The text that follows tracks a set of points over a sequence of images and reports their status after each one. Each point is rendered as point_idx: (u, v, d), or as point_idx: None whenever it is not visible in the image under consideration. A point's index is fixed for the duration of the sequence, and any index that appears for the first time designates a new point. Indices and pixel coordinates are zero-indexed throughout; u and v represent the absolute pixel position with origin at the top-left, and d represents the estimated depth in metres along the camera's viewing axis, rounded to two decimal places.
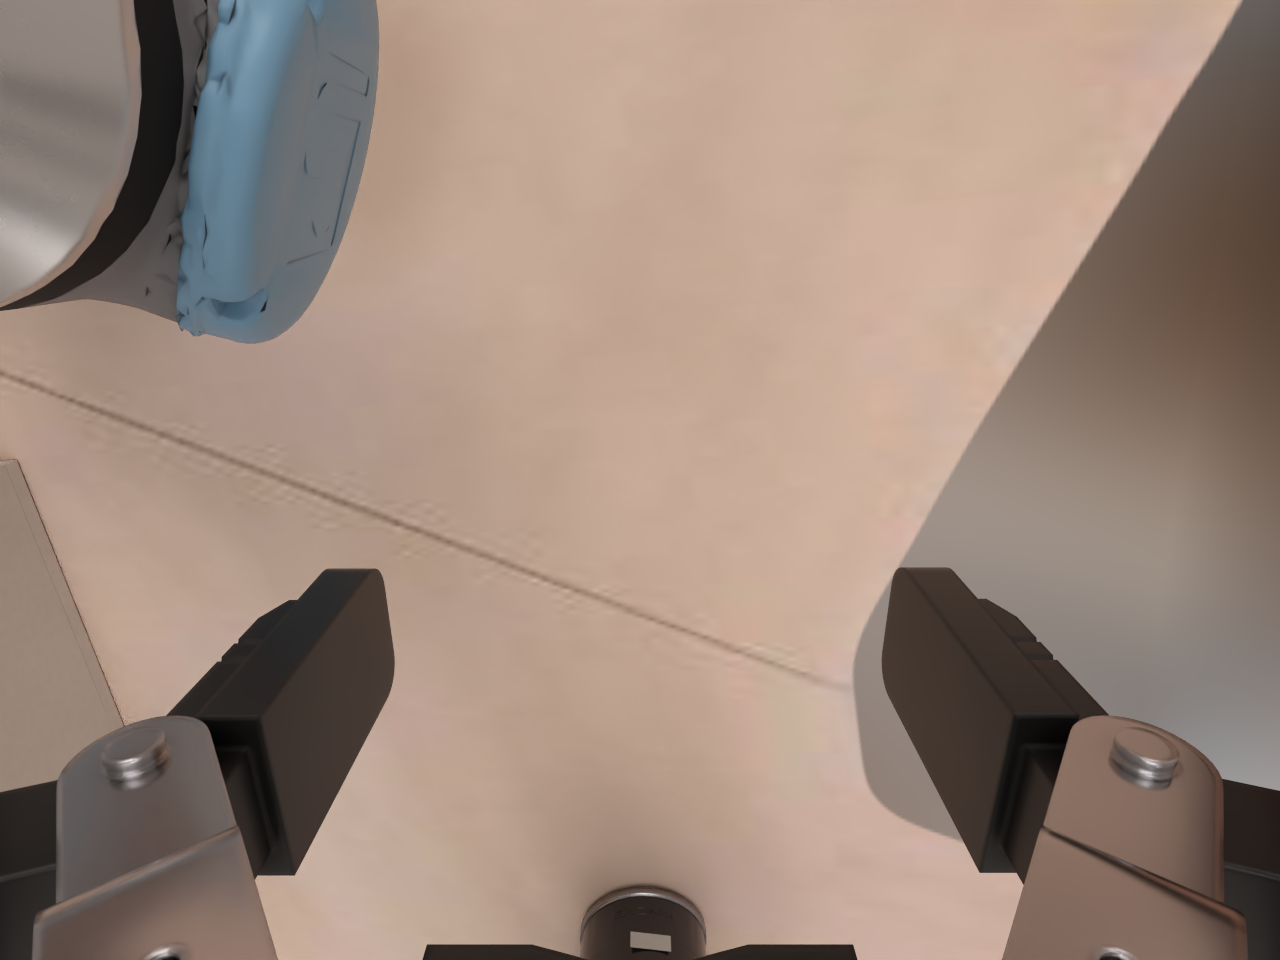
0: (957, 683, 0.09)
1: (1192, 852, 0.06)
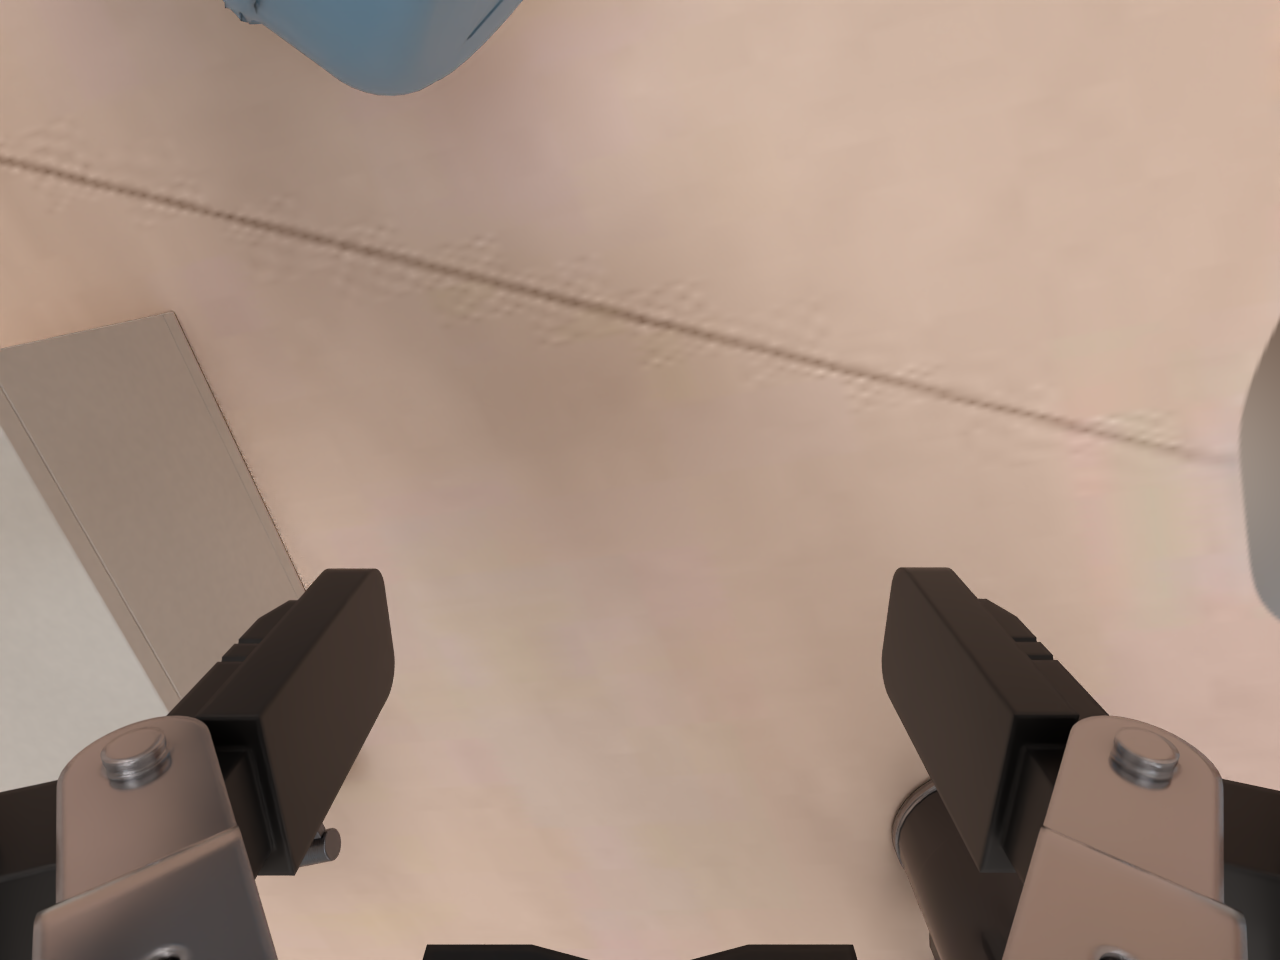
0: (957, 683, 0.09)
1: (1192, 852, 0.06)
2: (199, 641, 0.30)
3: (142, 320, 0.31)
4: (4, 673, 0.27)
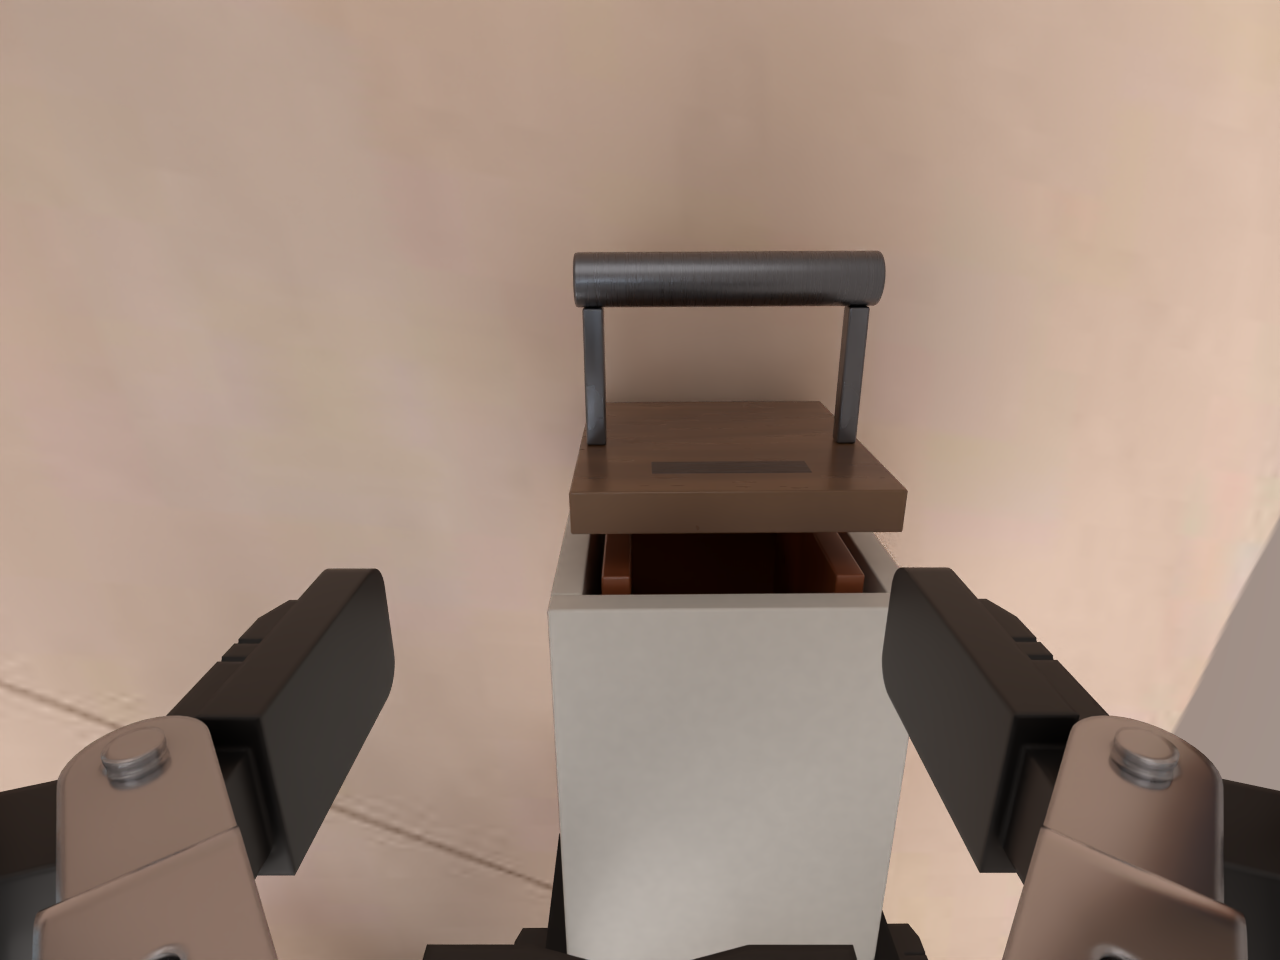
0: (957, 683, 0.09)
1: (1192, 852, 0.06)
2: None
3: None
4: (732, 841, 0.21)
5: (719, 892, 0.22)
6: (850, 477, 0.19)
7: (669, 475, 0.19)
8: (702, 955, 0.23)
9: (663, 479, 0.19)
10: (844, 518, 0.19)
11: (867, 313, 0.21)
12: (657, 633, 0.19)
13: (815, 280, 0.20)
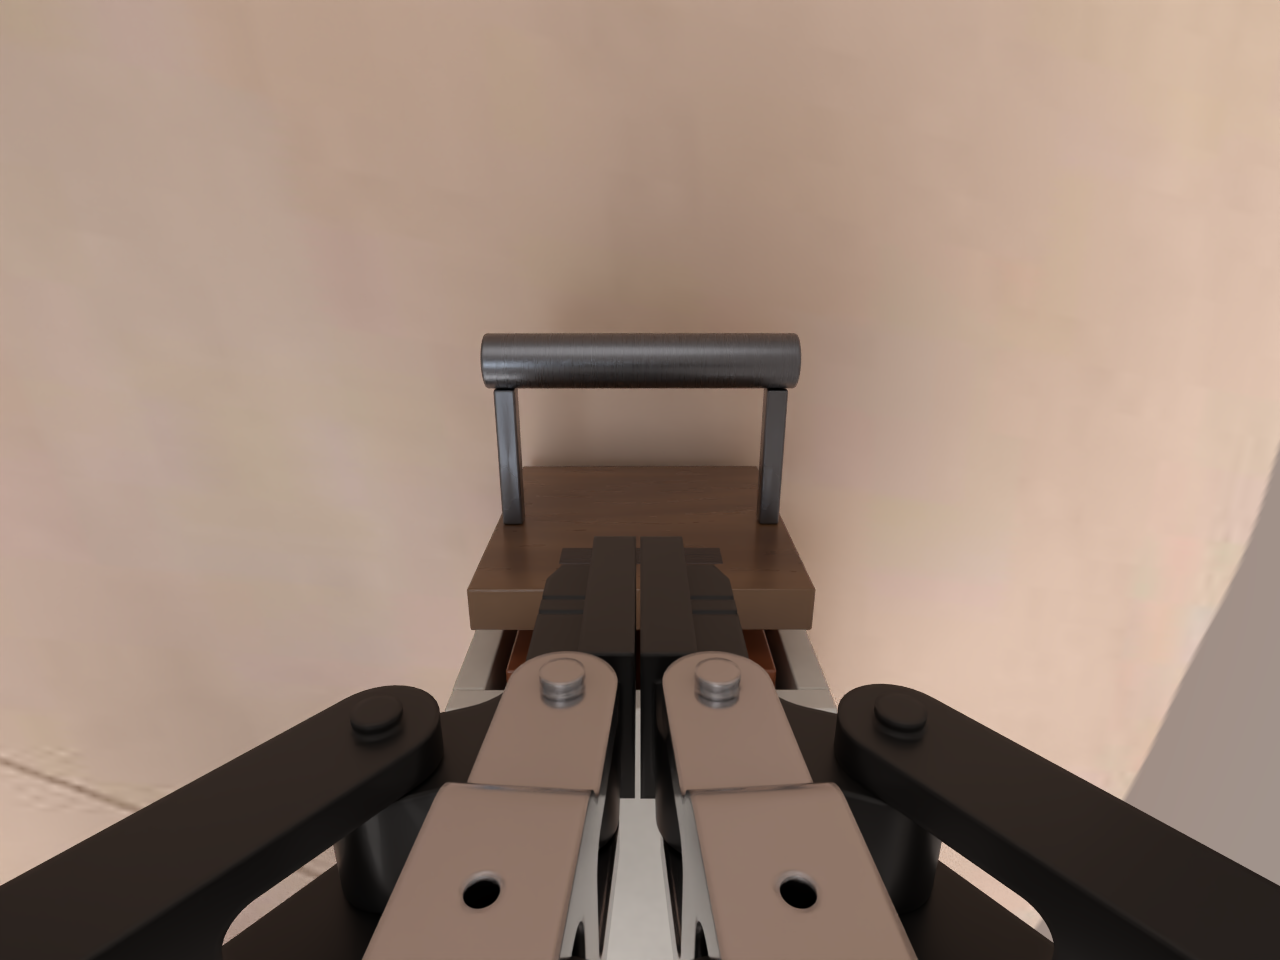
0: None
1: (695, 754, 0.07)
2: None
3: None
4: (646, 935, 0.21)
5: None
6: (761, 570, 0.19)
7: None
8: None
9: None
10: (751, 616, 0.18)
11: (785, 396, 0.20)
12: None
13: (728, 365, 0.19)
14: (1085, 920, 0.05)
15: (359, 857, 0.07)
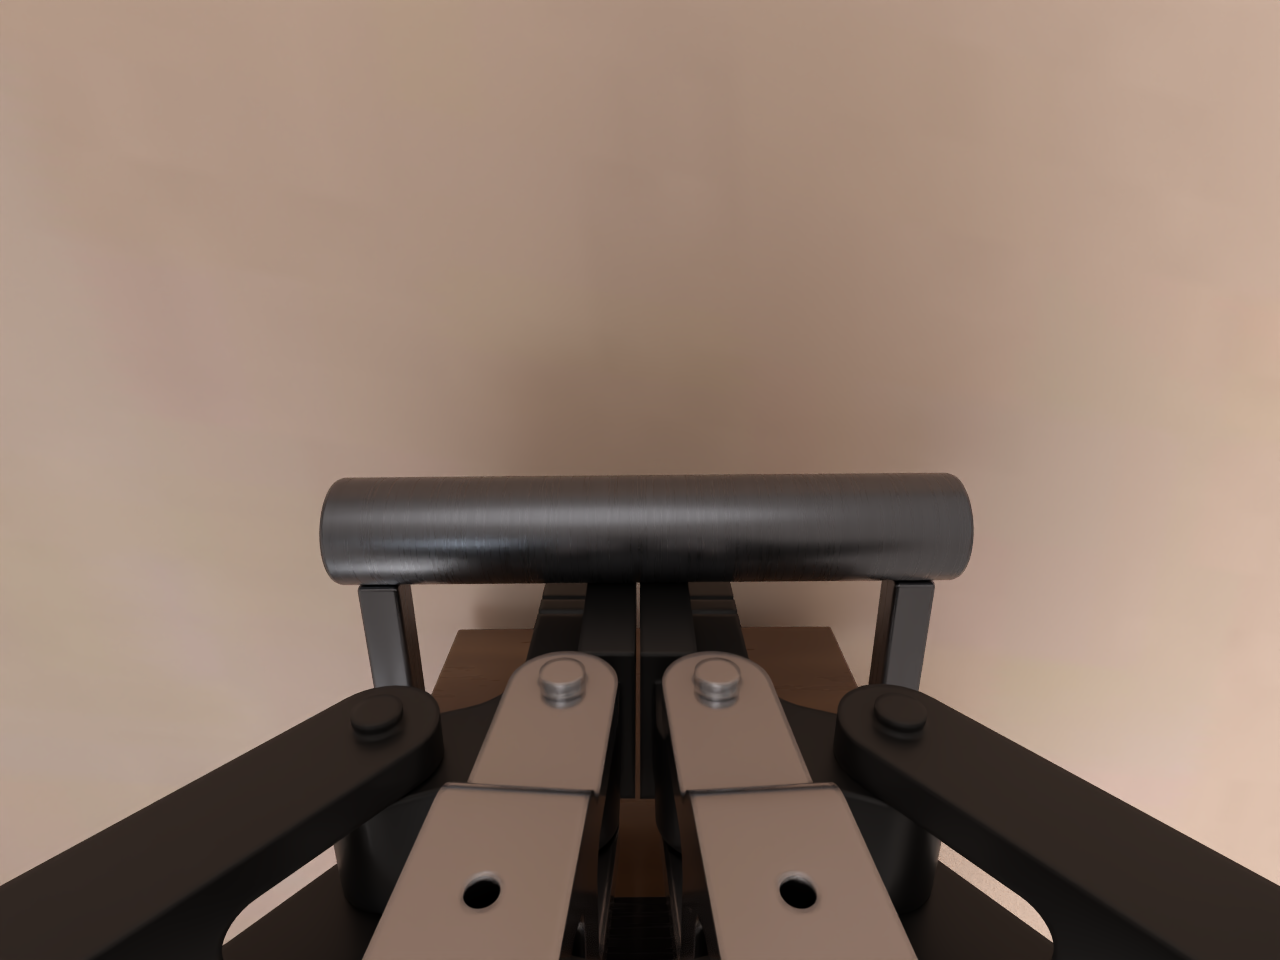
0: None
1: (694, 754, 0.07)
2: None
3: None
4: None
5: None
6: None
7: None
8: None
9: None
10: None
11: (930, 594, 0.10)
12: None
13: (826, 549, 0.09)
14: (1084, 920, 0.05)
15: (359, 857, 0.07)
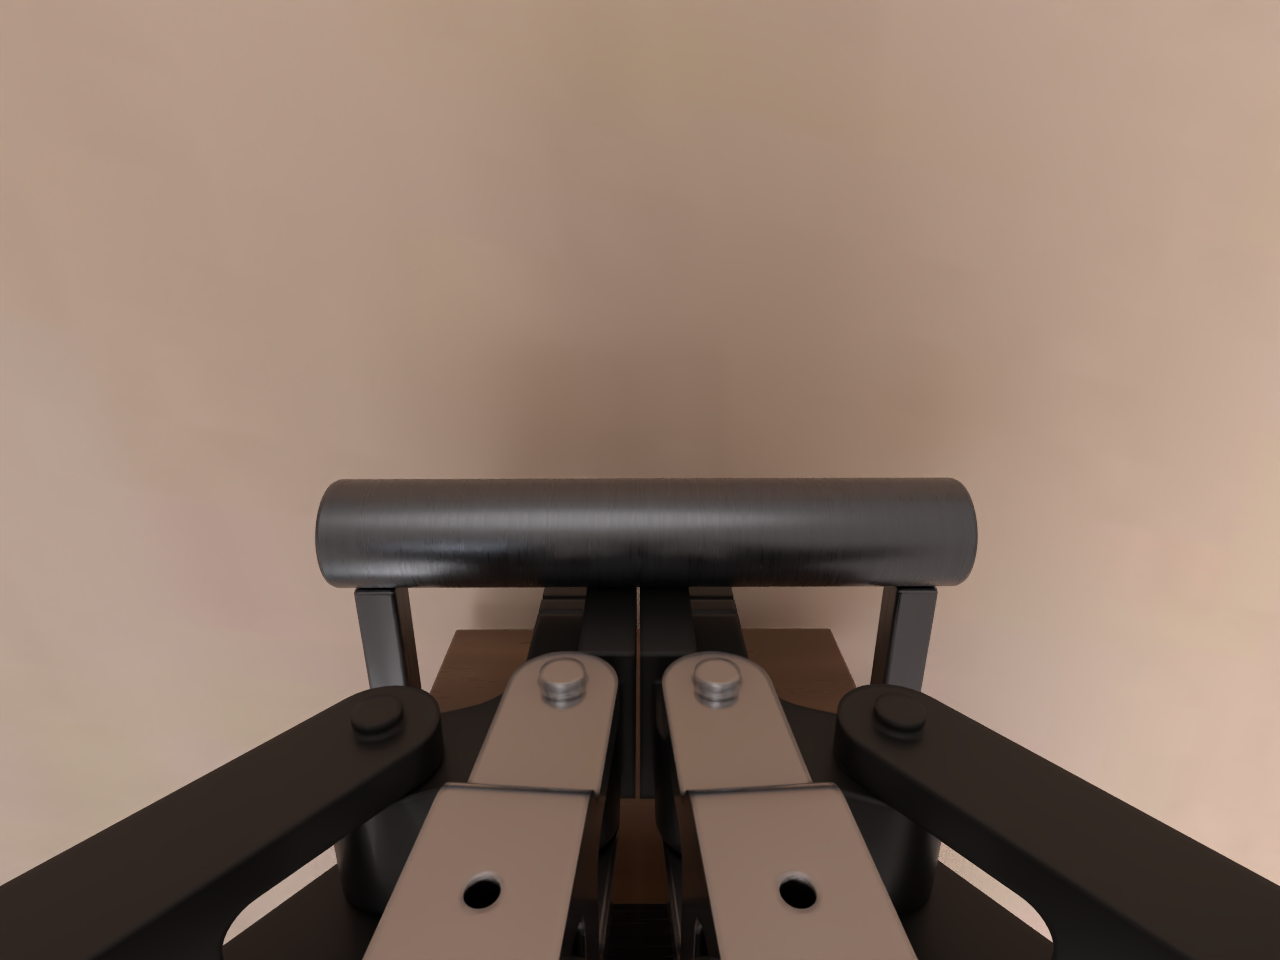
0: None
1: (694, 754, 0.07)
2: None
3: None
4: None
5: None
6: None
7: None
8: None
9: None
10: None
11: (933, 600, 0.10)
12: None
13: (828, 555, 0.09)
14: (1084, 920, 0.05)
15: (359, 857, 0.07)
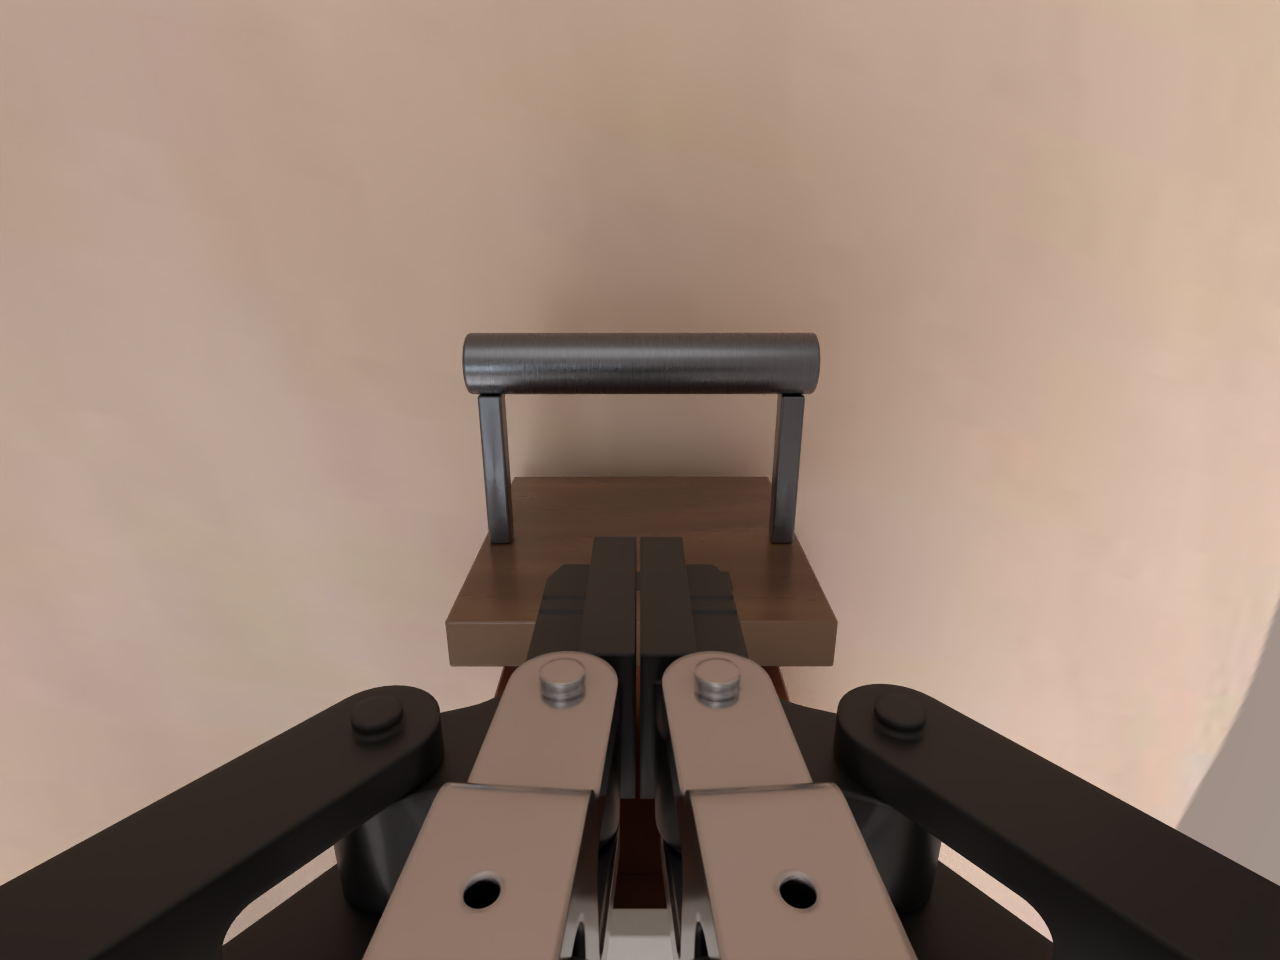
0: None
1: (694, 754, 0.07)
2: None
3: None
4: None
5: None
6: (776, 599, 0.17)
7: None
8: None
9: None
10: (765, 651, 0.16)
11: (802, 403, 0.18)
12: None
13: (739, 368, 0.17)
14: (1085, 920, 0.05)
15: (359, 857, 0.07)
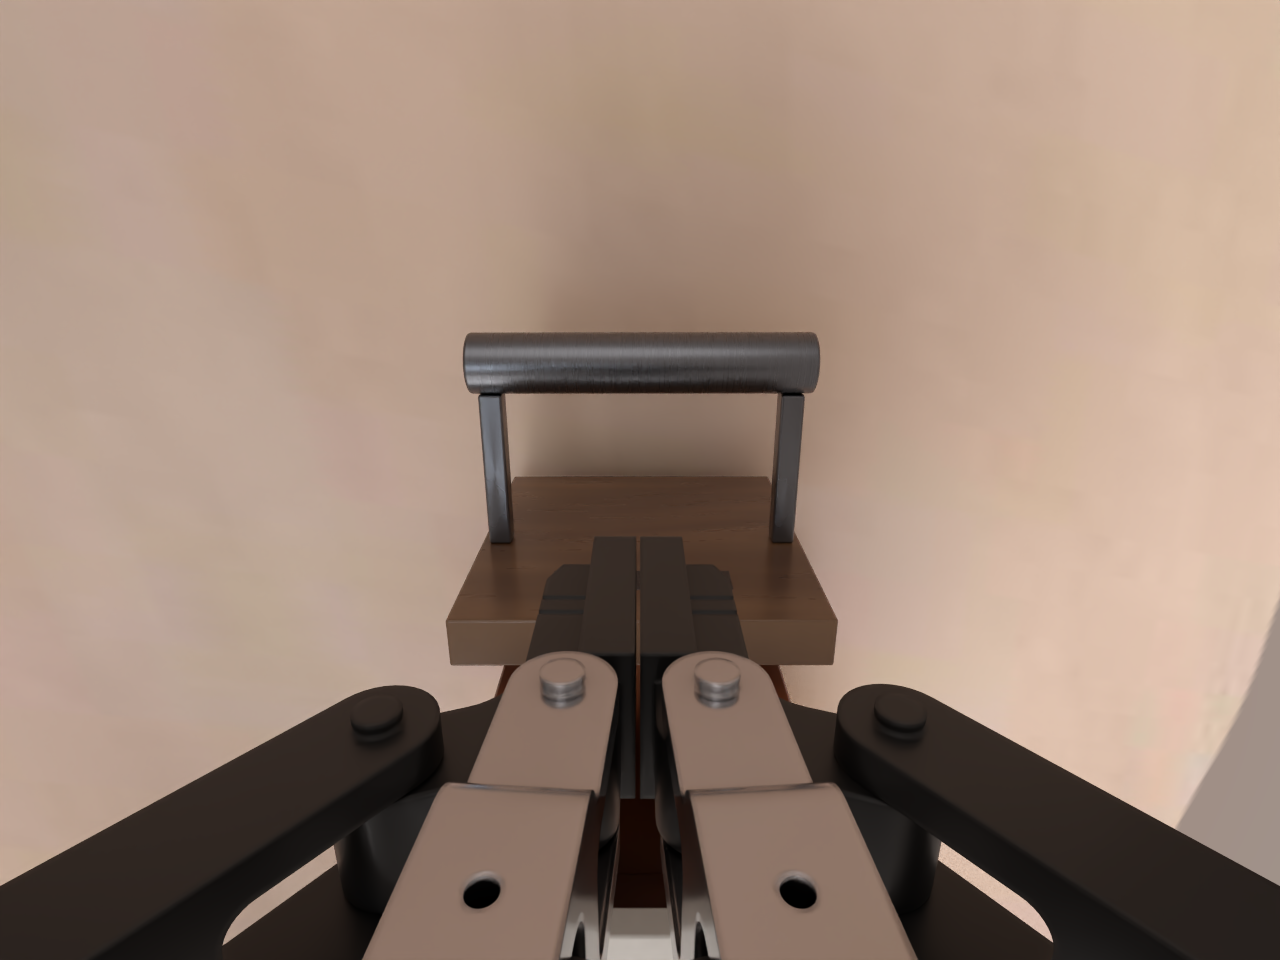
0: None
1: (694, 754, 0.07)
2: None
3: None
4: None
5: None
6: (776, 598, 0.17)
7: None
8: None
9: None
10: (765, 650, 0.16)
11: (802, 402, 0.18)
12: None
13: (739, 368, 0.17)
14: (1085, 920, 0.05)
15: (359, 857, 0.07)
